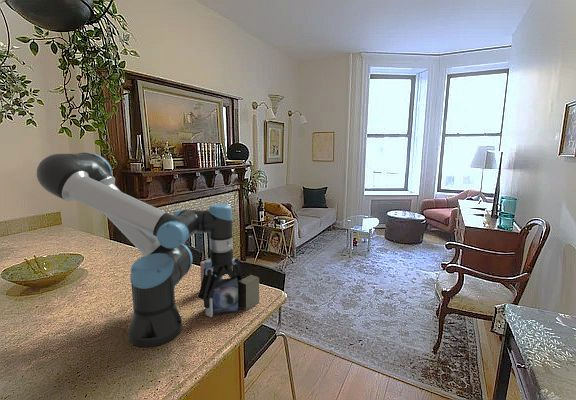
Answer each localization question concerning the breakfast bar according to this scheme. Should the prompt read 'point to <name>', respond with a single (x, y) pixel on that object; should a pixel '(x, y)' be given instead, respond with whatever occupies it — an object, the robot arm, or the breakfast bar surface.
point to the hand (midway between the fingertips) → (222, 307)
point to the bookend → (248, 292)
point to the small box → (225, 296)
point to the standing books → (204, 265)
